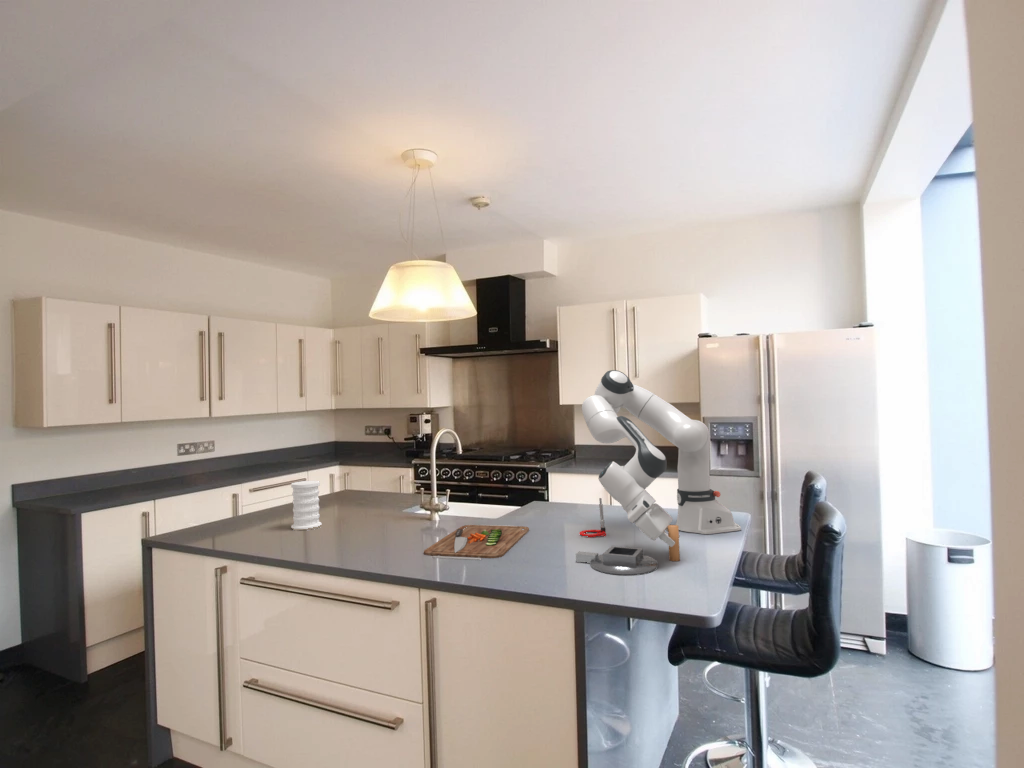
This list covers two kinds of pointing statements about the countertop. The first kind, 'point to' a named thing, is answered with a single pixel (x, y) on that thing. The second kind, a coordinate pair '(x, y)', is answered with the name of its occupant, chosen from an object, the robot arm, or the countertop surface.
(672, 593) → the countertop surface
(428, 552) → the chopping board
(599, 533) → the tow hook
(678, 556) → the orange wooden block
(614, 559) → the grey peg holder base
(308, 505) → the decorative container
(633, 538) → the countertop surface
